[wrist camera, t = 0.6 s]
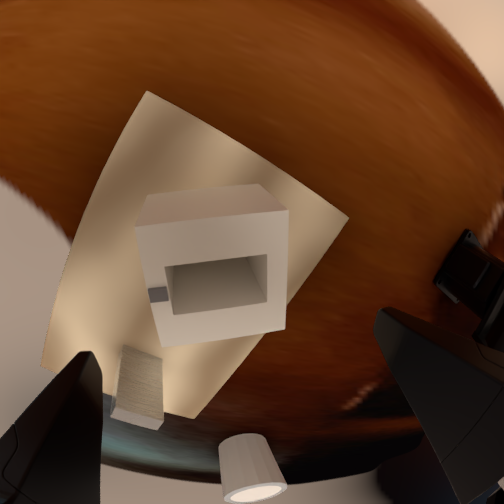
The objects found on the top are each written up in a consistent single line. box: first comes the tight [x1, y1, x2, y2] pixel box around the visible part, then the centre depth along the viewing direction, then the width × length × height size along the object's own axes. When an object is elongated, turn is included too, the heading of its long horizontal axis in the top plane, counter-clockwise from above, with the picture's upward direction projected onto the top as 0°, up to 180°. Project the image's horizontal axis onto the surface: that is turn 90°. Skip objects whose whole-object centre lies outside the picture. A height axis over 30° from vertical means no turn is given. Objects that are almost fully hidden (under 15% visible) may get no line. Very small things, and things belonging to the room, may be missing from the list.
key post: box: [110, 344, 164, 430], centre depth 17 cm, size 3×1×6 cm, turn 57°
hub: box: [135, 184, 289, 347], centre depth 15 cm, size 6×6×5 cm
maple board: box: [41, 91, 349, 419], centre depth 19 cm, size 14×21×2 cm, turn 147°
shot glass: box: [218, 433, 287, 504], centre depth 27 cm, size 7×7×7 cm
